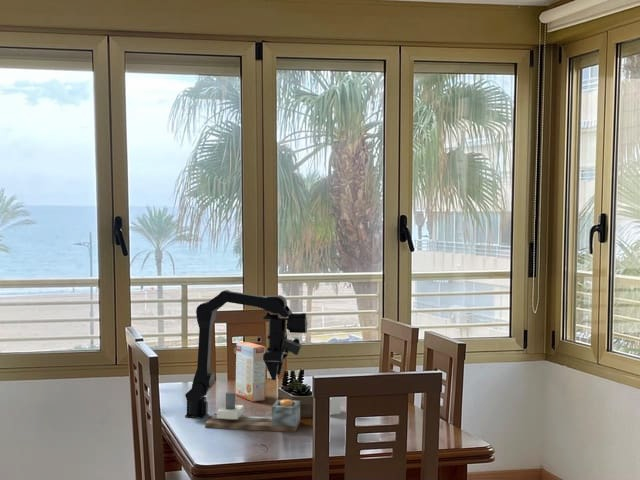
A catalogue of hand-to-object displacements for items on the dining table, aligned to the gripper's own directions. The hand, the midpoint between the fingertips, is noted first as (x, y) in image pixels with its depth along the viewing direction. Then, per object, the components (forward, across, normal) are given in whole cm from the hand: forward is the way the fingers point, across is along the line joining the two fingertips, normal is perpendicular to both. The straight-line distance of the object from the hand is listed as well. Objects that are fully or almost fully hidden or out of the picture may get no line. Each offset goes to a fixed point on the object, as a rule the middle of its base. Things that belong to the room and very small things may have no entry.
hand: (276, 377), depth 243 cm
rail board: (+15, -8, +6) cm, 18 cm away
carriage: (+12, -8, +14) cm, 20 cm away
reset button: (+9, -8, -5) cm, 13 cm away
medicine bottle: (+15, +12, -17) cm, 26 cm away
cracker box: (+15, +29, +15) cm, 36 cm away
